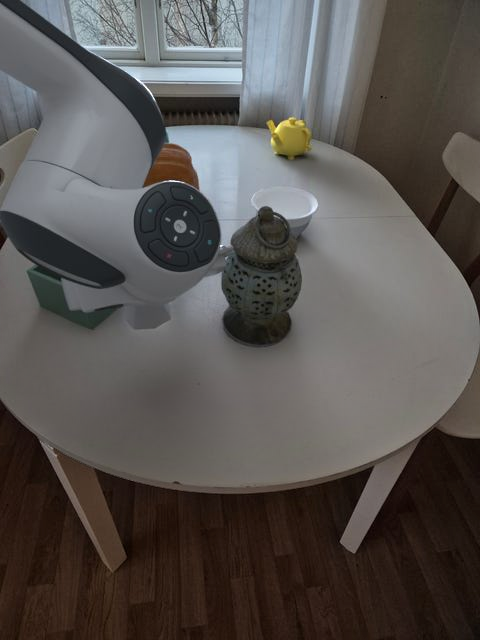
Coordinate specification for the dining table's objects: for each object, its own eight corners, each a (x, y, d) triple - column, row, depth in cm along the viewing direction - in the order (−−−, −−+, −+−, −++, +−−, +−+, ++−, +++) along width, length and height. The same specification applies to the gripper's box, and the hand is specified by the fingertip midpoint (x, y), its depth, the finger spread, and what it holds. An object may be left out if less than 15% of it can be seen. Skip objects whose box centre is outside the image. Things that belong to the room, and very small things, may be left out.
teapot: (264, 145, 148) (266, 110, 140) (303, 144, 149) (307, 110, 141) (270, 162, 138) (272, 126, 130) (311, 162, 139) (316, 126, 131)
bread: (198, 196, 120) (196, 134, 108) (203, 238, 105) (200, 171, 93) (135, 198, 118) (125, 135, 107) (130, 241, 103) (118, 173, 91)
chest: (92, 330, 81) (81, 294, 75) (40, 306, 85) (25, 270, 79) (146, 282, 91) (141, 247, 85) (97, 263, 96) (89, 229, 90)
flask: (117, 306, 65) (105, 250, 58) (163, 294, 68) (157, 239, 61) (129, 337, 61) (118, 281, 54) (178, 323, 63) (173, 267, 56)
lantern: (290, 299, 88) (306, 185, 71) (297, 350, 78) (318, 232, 61) (222, 298, 88) (222, 184, 71) (220, 349, 78) (219, 229, 61)
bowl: (325, 231, 108) (331, 200, 102) (289, 259, 99) (293, 226, 93) (274, 210, 115) (277, 180, 110) (236, 234, 106) (237, 202, 100)
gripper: (231, 220, 51) (204, 246, 64) (51, 257, 44) (61, 279, 58) (246, 271, 51) (215, 287, 64) (68, 316, 45) (74, 324, 58)
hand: (141, 283), depth 61 cm, fingers closed on flask, 3 cm apart
